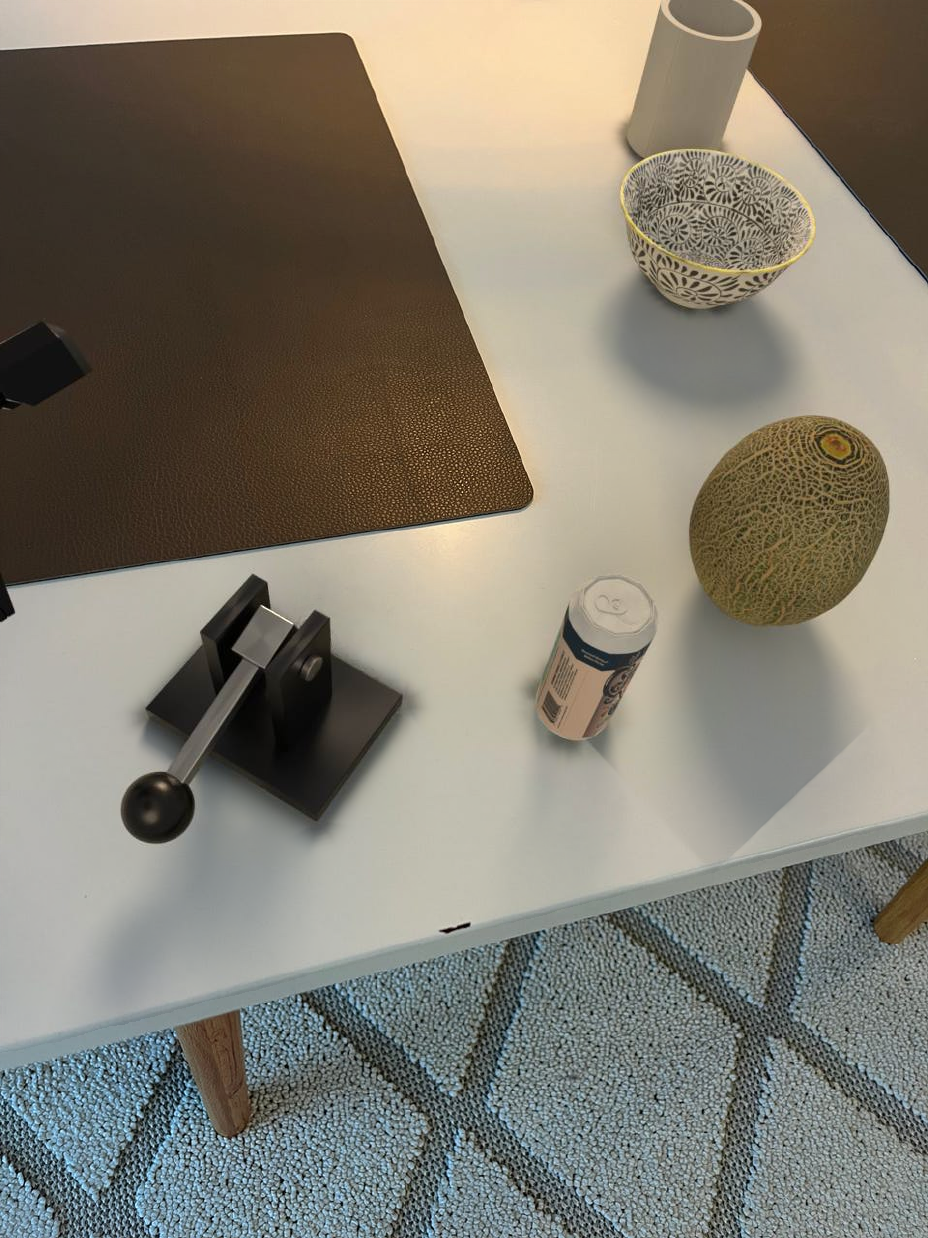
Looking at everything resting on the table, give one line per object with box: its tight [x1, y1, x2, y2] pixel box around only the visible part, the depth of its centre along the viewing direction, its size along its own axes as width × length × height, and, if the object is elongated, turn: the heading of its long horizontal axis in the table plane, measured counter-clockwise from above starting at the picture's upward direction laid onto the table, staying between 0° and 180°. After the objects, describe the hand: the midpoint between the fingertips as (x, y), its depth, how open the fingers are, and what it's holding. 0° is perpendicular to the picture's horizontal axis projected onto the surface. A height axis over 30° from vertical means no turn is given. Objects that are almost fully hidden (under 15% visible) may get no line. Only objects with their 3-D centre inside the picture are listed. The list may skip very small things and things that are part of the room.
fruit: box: [688, 414, 891, 627], centre depth 59 cm, size 11×11×15 cm
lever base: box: [144, 573, 403, 823], centre depth 53 cm, size 9×12×10 cm
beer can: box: [534, 572, 659, 741], centre depth 54 cm, size 5×5×12 cm
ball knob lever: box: [120, 605, 299, 845], centre depth 49 cm, size 13×4×4 cm, turn 150°
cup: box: [626, 0, 763, 160], centre depth 89 cm, size 9×9×12 cm
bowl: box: [619, 149, 816, 310], centre depth 79 cm, size 16×16×8 cm
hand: (7, 616), depth 44 cm, fingers closed
